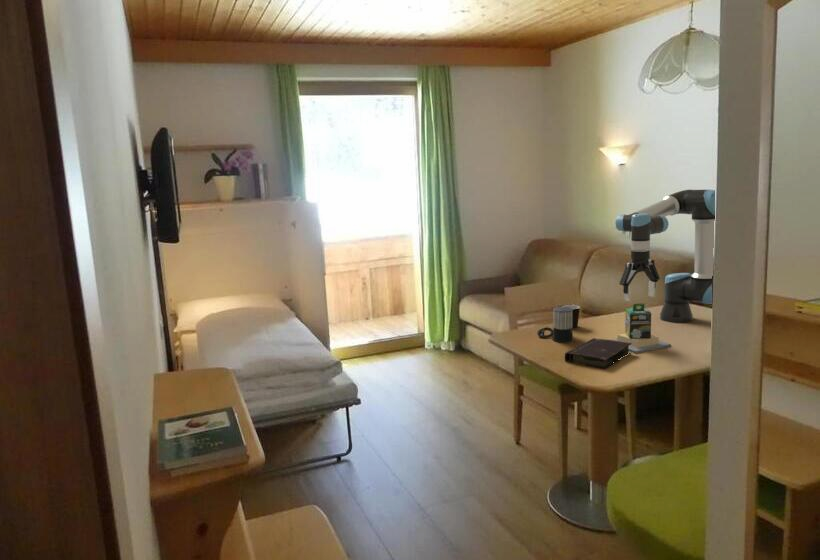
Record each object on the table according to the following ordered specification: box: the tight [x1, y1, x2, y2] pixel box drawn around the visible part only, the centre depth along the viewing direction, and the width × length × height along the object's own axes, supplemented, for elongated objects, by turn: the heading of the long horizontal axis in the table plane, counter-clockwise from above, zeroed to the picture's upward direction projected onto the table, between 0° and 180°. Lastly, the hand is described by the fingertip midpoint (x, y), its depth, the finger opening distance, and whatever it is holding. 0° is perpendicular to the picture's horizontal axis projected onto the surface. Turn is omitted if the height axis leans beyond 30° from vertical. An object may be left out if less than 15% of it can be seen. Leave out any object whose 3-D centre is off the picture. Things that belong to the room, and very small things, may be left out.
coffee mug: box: [561, 304, 581, 329], centre depth 300 cm, size 12×9×10 cm
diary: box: [564, 337, 632, 370], centre depth 252 cm, size 19×25×5 cm
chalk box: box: [624, 302, 652, 339], centre depth 265 cm, size 9×9×15 cm
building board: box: [612, 332, 672, 354], centre depth 267 cm, size 20×18×4 cm
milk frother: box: [537, 306, 574, 344], centre depth 280 cm, size 14×16×15 cm
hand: (639, 298), depth 263 cm, fingers open, 13 cm apart
